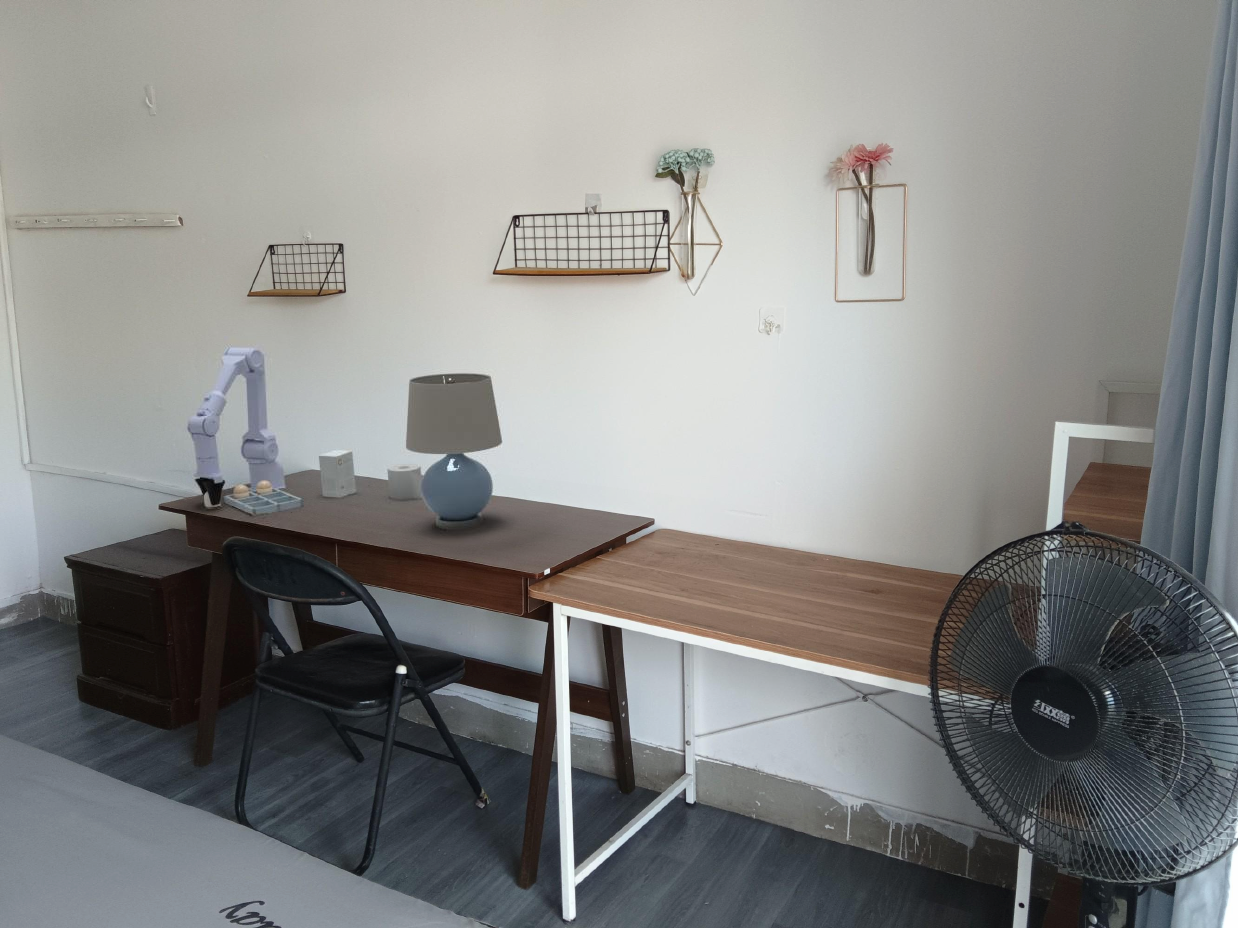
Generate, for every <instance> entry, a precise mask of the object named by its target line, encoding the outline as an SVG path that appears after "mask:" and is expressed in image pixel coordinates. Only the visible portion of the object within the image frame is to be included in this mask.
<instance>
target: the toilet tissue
mask: <svg viewBox="0 0 1238 928" xmlns="http://www.w3.org/2000/svg"><path fill="white" fill-rule="evenodd" d="M423 476H424V474H422V467H421V466H420V465H419V464H414V463H405V464H396V465H395V464H394V465H392V466H389V467H388V468H387V480H388V492H389V498H391V499H392V500H396V501H397V500H398V501H399V500H402V501H403V500H404V501H405V500H415V499H423V497H422V493H421V483H422V479H423Z"/></svg>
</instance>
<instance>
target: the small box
mask: <svg viewBox="0 0 1238 928" xmlns="http://www.w3.org/2000/svg"><path fill="white" fill-rule="evenodd" d="M353 457H354V455H353V451H352V450H345V449H343V450H342V449H334V450H332V451H328V452H326V453H322V454H319V455H318V461H319V469H320V471H319V472H320V479H321V481H320V482H321V491H322V497H325V498H326V497H328V498H337V499H340V498H344V497H345V496H348V495H350V494H351V495H353V494H356V493H357V488H356V486H357V485H356V478H355V467H354V466H355V465H354V458H353Z"/></svg>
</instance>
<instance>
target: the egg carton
mask: <svg viewBox="0 0 1238 928" xmlns="http://www.w3.org/2000/svg"><path fill="white" fill-rule="evenodd" d="M249 495H250V497H246V498H241V499H236V500H235V499H234V493H232V494H228V495H223V503H224V504H226V505H229V506H230V507H232V506H234V507H236V508H238V509H241V510H243V511H245V512H248V513H251V514H260V513H269V514H274V513H278V512H282V511H288V510H292V509H297V508H302V507H304V506H305V505H304V500H303V498H300V497H298V496H295V495H293V494H290V493H288V492H285V491H283V490H281V489H276V488H274V487H272V493H267V494H262V495H257V490H253V491H251V490H249ZM234 507H233V508H234ZM236 508H235V509H236ZM238 509H237V510H238ZM243 511H242V512H243ZM245 512H244V513H245ZM273 512H274V513H273Z"/></svg>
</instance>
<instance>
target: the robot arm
mask: <svg viewBox="0 0 1238 928" xmlns="http://www.w3.org/2000/svg"><path fill="white" fill-rule="evenodd" d="M221 362H222V368H221V370H220V372H219V375H218V377H217V380H216V382H215V385H214V387H213V390H211V391H209V392H207V393H206V394H205V395H204V396H203V401H202V402H201V404H200V406H199V408H198V411H197V412H196V414H195V415H192V416H191V417H190V418H189V420H188V423H187V426H186V429H187V432H188V433H189V434H190V435H191V440H192V442H193V445H194V453H195V460H196V470H195V471H196V473H193V477H195V479H194V482H196V484H197V486H198V488H199V489H200V491H201V494H202V497H203V498H204V495H205V493H206V492H208V495H209V499H210V502H211V505H218V504H220V502H221V498H222V493H223V489H224V486H225V483H226V480H225V479H223V475H222V474H221V470H220V463H219V455H218V447H217V446H218V445H217V439H216V438H217V437H216V434H217V433H218V431H219V430H220V421H221V418H220V417H221V415H222V412H223V411H224V408H225V406H226V404H227V403H228V402H227V398H226V395H227V393H228V391H229V389H230V388H231V386H232V385H233V383H234V381H235V380H236V378H237V376H239V375H241V376H243V377H244V378H245V383H246V402H247V405H246V406H247V407H246V408H247V422H248V423H247V424H248V427H247V428H248V430H247V431H246V432H245V433H244V434H243V435H242V443H241V446H240V453H241V457H242V458H244V460H245V461H246V463H248V472H249V481H250V487H248V489H249V491H253V490H257V484H258V483H259V482H260V481H263V480H266V481H268V482H270V483H271V485H272V487H274V488H276V489H278V490H281V489H284V488H287V486H286V481H285V474H284V473H285V472H284V466H283V462H282V461H281V460H280V459H279V458H277V457H278V455H279V446H278V444H277V439H276V435H275V434H273V432H271V431H270V430H269V429H268V413H267V412H268V411H267V408H268V407H267V386H266V382H267V381H266V370H265V354H264V353H263V352H262V350H260V349H259V348H257V347H233V346H230V347H228V348H226V349H225V350H224V352H223V356H222V357H221Z"/></svg>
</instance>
